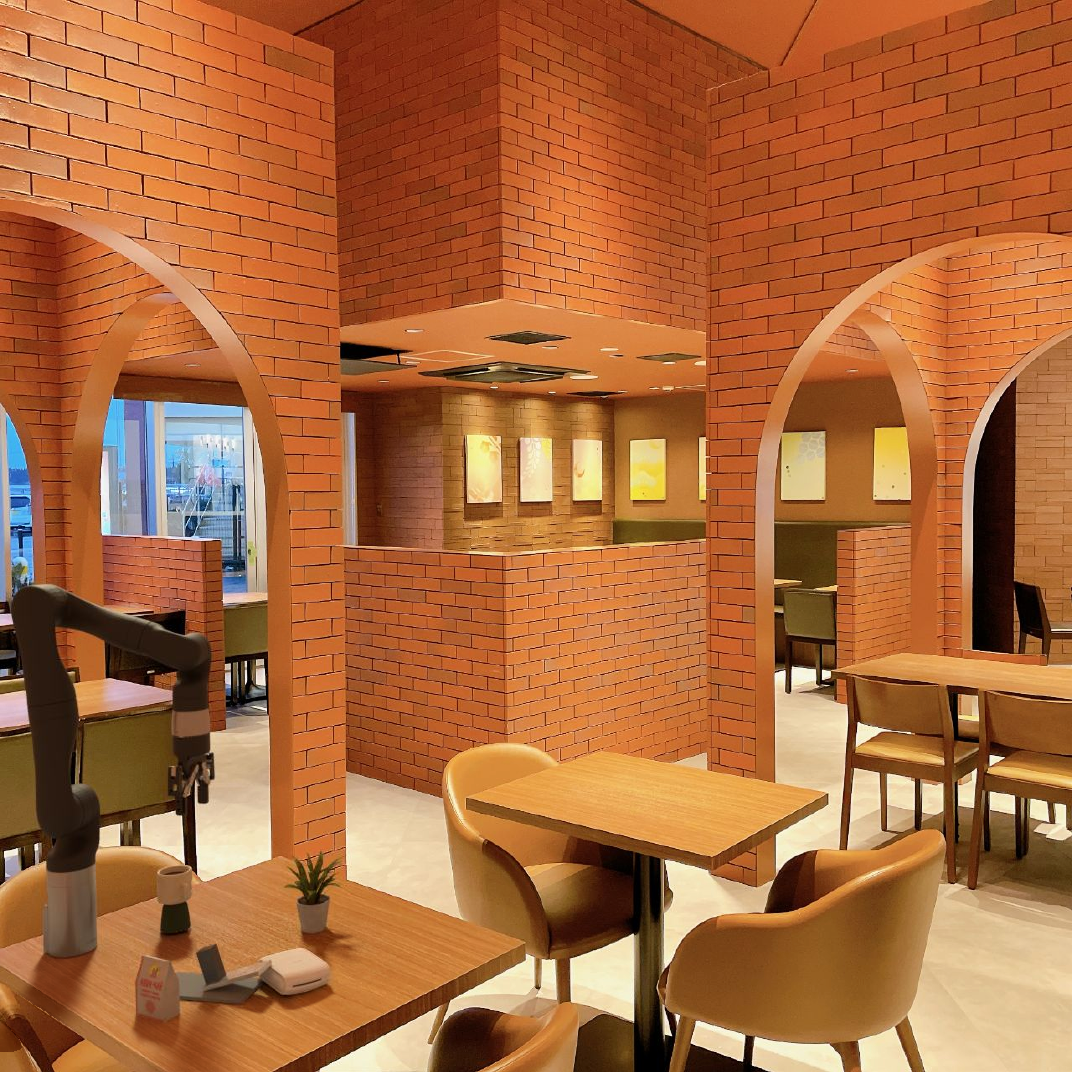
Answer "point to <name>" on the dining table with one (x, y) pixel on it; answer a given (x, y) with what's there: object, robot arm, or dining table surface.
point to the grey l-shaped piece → (216, 972)
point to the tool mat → (215, 989)
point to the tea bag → (157, 989)
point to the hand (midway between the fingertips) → (192, 809)
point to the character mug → (174, 897)
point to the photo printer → (295, 971)
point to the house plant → (313, 894)
